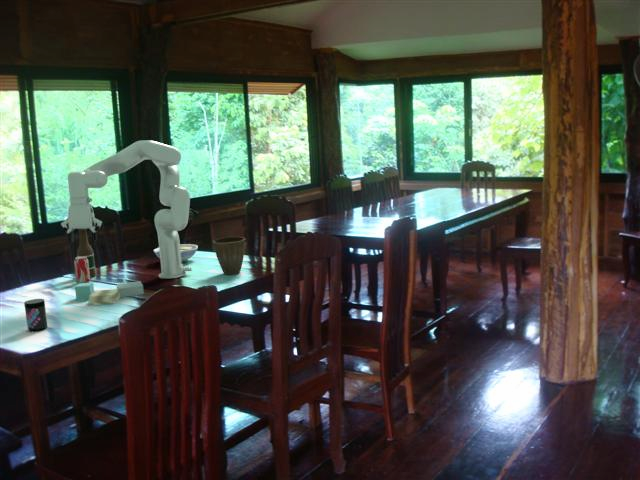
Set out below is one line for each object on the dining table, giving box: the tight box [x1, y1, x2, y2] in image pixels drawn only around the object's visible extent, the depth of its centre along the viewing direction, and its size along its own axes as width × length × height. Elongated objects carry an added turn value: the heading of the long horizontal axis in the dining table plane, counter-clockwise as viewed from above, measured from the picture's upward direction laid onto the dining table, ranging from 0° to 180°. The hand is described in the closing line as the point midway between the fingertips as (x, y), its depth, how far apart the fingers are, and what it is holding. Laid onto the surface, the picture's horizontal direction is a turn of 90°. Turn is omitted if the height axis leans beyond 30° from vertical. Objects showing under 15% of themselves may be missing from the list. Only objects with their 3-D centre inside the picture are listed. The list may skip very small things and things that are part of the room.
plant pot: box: [212, 236, 246, 276], centre depth 318 cm, size 15×15×16 cm
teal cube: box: [74, 281, 95, 301], centre depth 288 cm, size 6×6×6 cm
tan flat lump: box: [88, 288, 121, 306], centre depth 281 cm, size 10×10×4 cm
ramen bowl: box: [153, 243, 199, 264], centre depth 354 cm, size 25×23×8 cm
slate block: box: [116, 280, 145, 298], centre depth 292 cm, size 10×10×4 cm
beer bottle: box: [76, 228, 97, 279], centre depth 329 cm, size 8×8×24 cm
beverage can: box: [73, 256, 91, 284], centre depth 318 cm, size 6×6×12 cm
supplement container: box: [23, 298, 48, 333], centre depth 245 cm, size 7×7×10 cm
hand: (83, 242), depth 288 cm, fingers open, 9 cm apart
